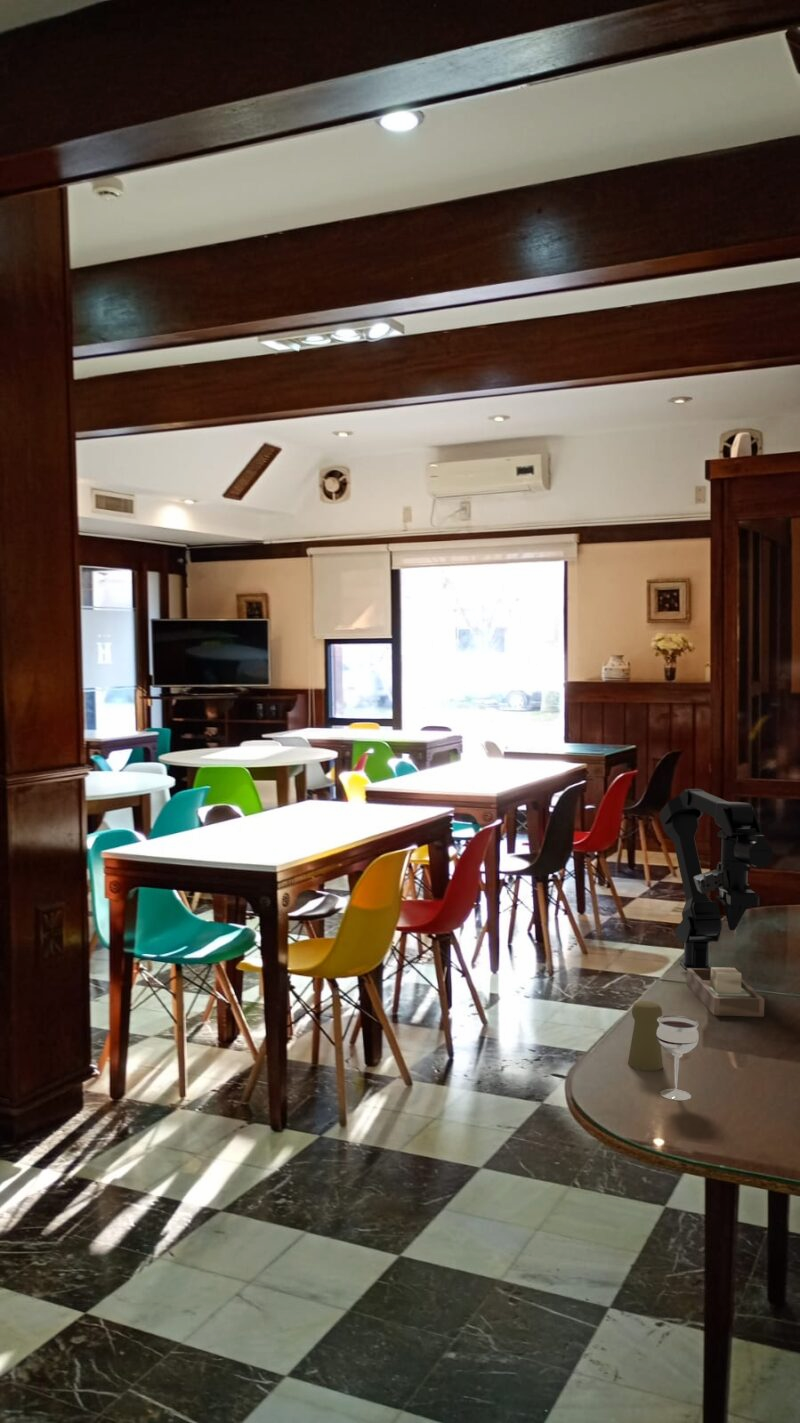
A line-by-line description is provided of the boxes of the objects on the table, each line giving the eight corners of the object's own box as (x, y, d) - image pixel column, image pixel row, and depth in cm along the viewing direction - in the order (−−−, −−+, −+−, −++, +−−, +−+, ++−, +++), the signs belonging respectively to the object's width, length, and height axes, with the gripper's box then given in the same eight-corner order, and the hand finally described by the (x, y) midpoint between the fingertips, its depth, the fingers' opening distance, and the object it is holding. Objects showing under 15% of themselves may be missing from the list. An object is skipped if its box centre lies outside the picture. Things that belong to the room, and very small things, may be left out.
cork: (660, 1059, 205) (662, 998, 204) (665, 1071, 199) (667, 1008, 198) (626, 1057, 205) (628, 996, 205) (629, 1069, 199) (631, 1006, 199)
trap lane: (686, 983, 255) (686, 968, 255) (731, 984, 255) (732, 969, 255) (714, 1015, 232) (714, 998, 232) (763, 1016, 232) (764, 999, 232)
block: (710, 986, 245) (710, 967, 244) (733, 986, 245) (734, 967, 244) (716, 992, 240) (717, 973, 239) (740, 993, 240) (741, 974, 239)
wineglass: (695, 1104, 184) (697, 1030, 183) (651, 1098, 186) (654, 1025, 186) (698, 1090, 190) (701, 1018, 190) (656, 1084, 192) (658, 1013, 192)
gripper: (687, 852, 264) (685, 919, 265) (708, 866, 246) (706, 939, 246) (736, 853, 264) (734, 921, 265) (761, 867, 246) (758, 940, 246)
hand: (732, 930), depth 256 cm, fingers closed
